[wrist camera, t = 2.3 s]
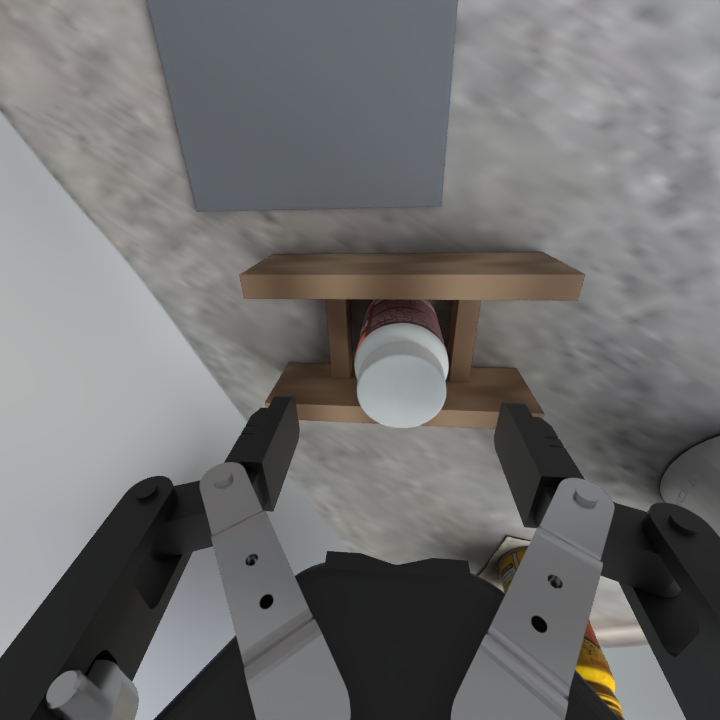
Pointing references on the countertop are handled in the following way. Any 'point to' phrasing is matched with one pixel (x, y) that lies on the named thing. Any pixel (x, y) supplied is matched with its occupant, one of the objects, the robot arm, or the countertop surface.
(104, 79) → the countertop surface
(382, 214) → the countertop surface
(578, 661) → the condiment
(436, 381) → the pill bottle
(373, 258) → the wooden rack
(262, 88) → the mat
